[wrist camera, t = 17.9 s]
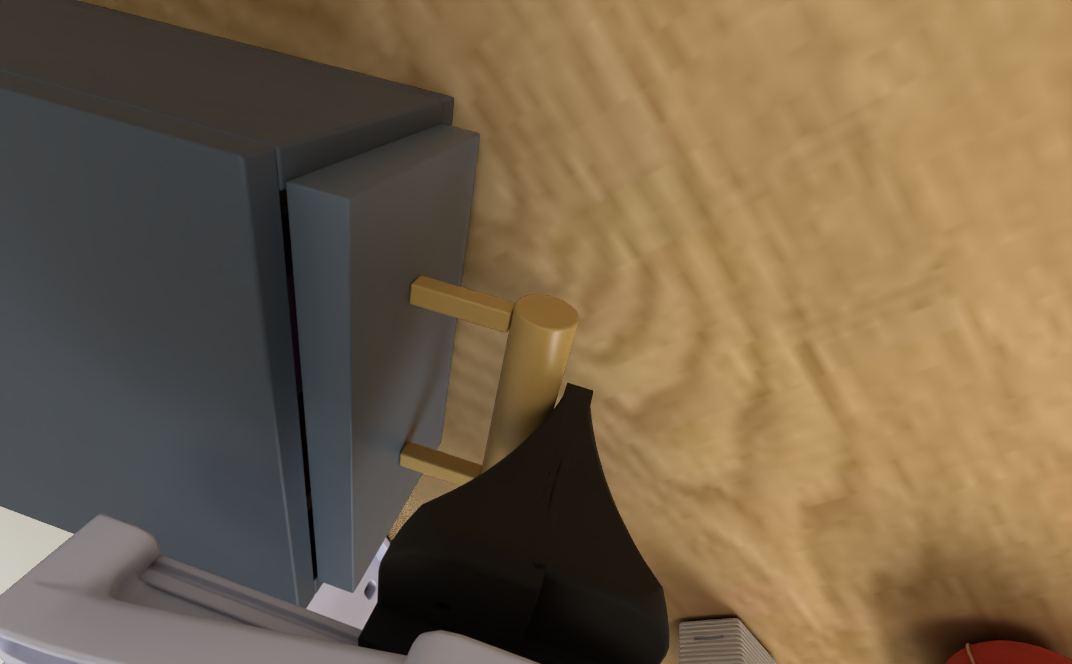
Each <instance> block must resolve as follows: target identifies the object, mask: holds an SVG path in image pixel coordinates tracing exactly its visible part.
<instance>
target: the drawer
mask: <svg viewBox="0 0 1072 664" xmlns="http://www.w3.org/2000/svg"><path fill="white" fill-rule="evenodd" d="M479 138H480V134H479V133H476V132H472V131H468V130H464V129H460V128H457V127H453V126H449V125H445V124H439V125H436V126H434V127H431V128H428V129H426V130H423V131H420V132H418V133H415V134H412V135H410V136H407V137H404V138H402V139H399V140H396V141H394V142H391V143H388V144H386V145H383V146H380V147H378V148H375V149H372V150H370V151H367V152H364V153H362V154H359V155H356V156H354V157H351V158H348V159H346V160H343V161H340V162H338V163H335V164H332V165H330V166H327V167H324V168H322V169H319V170H316V171H314V172H311V173H308V174H306V175H303V176H300V177H298V178H295V179H292V180H290V181H287V182H286V190H284V191H279V196H280V207H281V218H282V224H283V225H286V226H289V227H290V240H291V252H292V265H293V277H294V289H295V302H296V314H297V327H298V339H299V351H300V364H301V376H302V390H301V391H300V392H299V393H298V394H297V398H298V409H299V421H300V432H301V443H302V454H303V466H304V477H305V488H306V499H307V511H309V510H310V508H311V507H312V513H313V525H314V538H315V550H316V562H317V575H318V581H320V582H323V583H326V584H329V585H331V586H334V587H337V588H339V589H342V590H345V591H348V592H350V593H354V592H355V590H356V588H357V586H358V585H359V583H360V581H361V580H362V578H363V576H364V574H365V573H366V571H367V569H368V567H369V566H370V564H371V562H372V560H373V559H374V557H375V555H376V554H377V552H378V550H379V548H380V547H381V545H382V543H383V541H384V540H385V538H386V536H387V535H388V533H389V531H390V529H391V528H392V526H393V524H394V522H395V521H396V519H397V517H398V515H399V514H400V512H401V510H402V509H403V507H404V505H405V503H406V502H407V500H408V498H409V496H410V495H411V493H412V491H413V490H414V488H415V486H416V484H417V483H418V481H419V479H420V477H421V476H422V474H423V473H424V474H427V475H430V476H433V477H436V478H439V479H442V480H445V481H448V482H451V483H453V484H456V485H459V486H462V485H463V484H465V483H467V482H469V481H470V480H472V479H474V478H475V477H477V476H479V475H480V474H482V473H484V472H485V471H487V470H488V469H489V468H491V467H492V466H494V465H495V464H496V463H498V462H499V461H501V460H502V459H503V458H505V457H506V456H507V455H508V454H510V453H511V452H512V451H513V450H514V449H516V448H517V447H518V446H519V445H520V444H521V443H522V442H524V441H525V440H526V439H527V438H528V437H529V436H530V435H531V434H532V433H533V432H534V431H535V430H536V429H537V428H538V427H539V426H540V425H541V424H542V422H543V421H544V420H545V419H546V418H547V417H548V416H549V414H550V413H551V412H552V411H553V410H554V406H555V403H556V399H557V396H558V392H559V389H560V385H561V382H562V378H563V375H564V371H565V368H566V364H567V361H568V357H569V354H570V350H571V347H572V343H573V340H574V336H575V333H576V329H577V326H578V322H579V317H578V313H577V312H576V310H575V309H574V308H573V307H572V306H571V305H569V304H568V303H566V302H565V301H563V300H560V299H558V298H555V297H552V296H547V295H527V296H524V297H522V298H520V299H519V300H518V301H517V302H516V303H513V302H510V301H507V300H503V299H500V298H497V297H493V296H490V295H486V294H483V293H480V292H476V291H473V290H469V289H466V288H463V287H461V281H462V273H463V265H464V257H465V249H466V241H467V233H468V225H469V217H470V209H471V202H472V194H473V186H474V178H475V170H476V162H477V154H478V146H479ZM457 318H458V319H462V320H465V321H468V322H472V323H475V324H478V325H482V326H485V327H488V328H492V329H495V330H498V331H501V332H507V331H508V330H509V335H508V340H507V345H506V350H505V355H504V360H503V365H502V370H501V375H500V380H499V385H498V390H497V395H496V400H495V405H494V411H493V416H492V421H491V426H490V431H489V436H488V441H487V446H486V451H485V456H484V461H483V466H482V465H479V464H476V463H473V462H470V461H467V460H464V459H461V458H458V457H455V456H452V455H449V454H446V453H443V452H440V451H437V448H438V446H439V445H440V443H441V439H442V431H443V423H444V415H445V407H446V399H447V392H448V384H449V376H450V368H451V360H452V352H453V344H454V336H455V328H456V320H457ZM509 328H510V329H509Z"/></svg>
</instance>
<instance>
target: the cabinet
mask: <svg viewBox="0 0 1072 664" xmlns="http://www.w3.org/2000/svg"><path fill="white" fill-rule="evenodd" d="M453 103H454V98H453V97H451V96H447V95H443V94H439V93H435V92H432V91H428V90H424V89H420V88H416V87H412V86H408V85H404V84H400V83H396V82H393V81H389V80H385V79H381V78H377V77H373V76H369V75H365V74H361V73H357V72H353V71H350V70H346V69H342V68H338V67H334V66H330V65H326V64H322V63H318V62H314V61H311V60H307V59H303V58H299V57H295V56H291V55H287V54H283V53H279V52H275V51H272V50H268V49H264V48H260V47H256V46H252V45H248V44H244V43H240V42H236V41H233V40H229V39H225V38H221V37H217V36H213V35H209V34H205V33H201V32H197V31H194V30H190V29H186V28H182V27H178V26H174V25H170V24H166V23H162V22H158V21H155V20H151V19H147V18H143V17H139V16H135V15H131V14H127V13H123V12H119V11H116V10H112V9H108V8H104V7H100V6H96V5H92V4H88V3H84V2H80V1H77V0H0V506H2V507H4V508H7V509H10V510H13V511H15V512H18V513H20V514H23V515H26V516H28V517H31V518H34V519H36V520H39V521H41V522H44V523H47V524H49V525H52V526H55V527H57V528H60V529H63V530H66V531H68V532H71V533H74V534H75V533H76V532H78V531H79V530H80V529H81V528H82V527H84V526H85V525H86V524H87V523H89V522H90V521H91V520H92V519H93V518H95V517H96V516H97V515H98V514H107V515H110V516H113V517H115V518H118V519H121V520H123V521H126V522H129V523H132V524H134V525H137V526H140V527H142V528H144V529H146V530H148V531H149V532H150V533H151V534H153V535H154V536H155V538H156V539H157V541H158V543H159V548H160V554H162V555H164V556H167V557H170V558H172V559H175V560H177V561H180V562H183V563H185V564H188V565H191V566H193V567H196V568H199V569H201V570H204V571H207V572H209V573H212V574H215V575H217V576H220V577H223V578H225V579H228V580H231V581H233V582H236V583H239V584H241V585H244V586H247V587H249V588H252V589H254V590H257V591H260V592H262V593H265V594H268V595H270V596H273V597H276V598H278V599H281V600H284V601H286V602H289V603H292V604H294V605H297V606H300V607H302V608H305V609H306V608H307V607H308V605H309V604H310V602H311V601H312V599H313V597H314V596H315V594H316V593H317V592H318V590H319V589H320V587H321V586H322V584H323V582H320V581H318V575H317V562H316V550H315V538H314V525H313V513H312V507H311V508H310V510H309V511H307V499H306V488H305V477H304V466H303V454H302V443H301V432H300V421H299V409H298V398H297V387H296V376H295V364H294V353H293V342H292V331H291V319H290V308H289V297H288V286H287V274H286V263H285V252H284V241H283V229H282V218H281V207H280V196H279V191H284V190H286V182H287V181H290V180H292V179H295V178H298V177H300V176H303V175H306V174H308V173H311V172H314V171H316V170H319V169H322V168H324V167H327V166H330V165H332V164H335V163H338V162H340V161H343V160H346V159H348V158H351V157H354V156H356V155H359V154H362V153H364V152H367V151H370V150H372V149H375V148H378V147H380V146H383V145H386V144H388V143H391V142H394V141H396V140H399V139H402V138H404V137H407V136H410V135H412V134H415V133H418V132H420V131H423V130H426V129H428V128H431V127H434V126H436V125H439V124H445V125H449V126H451V124H452V113H453Z"/></svg>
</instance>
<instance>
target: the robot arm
mask: <svg viewBox="0 0 1072 664" xmlns="http://www.w3.org/2000/svg"><path fill="white" fill-rule="evenodd" d="M592 395H593V390H589V389H586V388H583V387H580V386H576V385H573V384H570V383H567V386H566V389H565V392H564V395H563V397H562V399H561V400H560V402H559V403H558V404H557V406H556V407H555V408H554V410H553V411H552V412H551V413H550V414H549V416H548V417H547V418H546V419H545V420H544V421H543V422H542V424H541V425H540V426H539V427H538V428H537V429H536V430H535V431H534V432H533V433H532V434H531V435H530V436H529V437H528V438H527V439H526V440H525V441H524V442H522V443H521V444H520V445H519V446H518V447H517V448H516V449H514V450H513V451H512V452H511V453H510V454H508V455H507V456H506V457H505V458H503V459H502V460H501V461H499V462H498V463H496V464H495V465H494V466H492V467H491V468H489V469H488V470H487V471H485V472H484V473H482V474H480V475H479V476H477V477H475V478H474V479H472V480H470V481H469V482H467V483H465V484H463V485H462V486H460V487H458V488H456V489H454V490H452V491H451V492H449V493H446V494H444V495H442V496H440V497H438V498H435V499H433V500H431V501H429V502H427V503H424V504H422V505H421V506H420V507H419V508H418V509H417V511H416V512H415V513H414V514H413V515H412V516H411V517H410V518H409V519H408V521H407V522H406V523H405V524H404V525H403V527H402V528H401V529H400V531H399V532H398V533H397V535H396V536H395V537H394V539H393V540H392V542H391V544H390V542H389V541H388V539H387V538H385V540H384V541H383V543H382V545H381V547H380V548H379V550H378V552H377V554H376V555H375V557H374V559H373V560H372V562H371V564H370V566H369V567H368V569H367V571H366V573H365V574H364V576H363V578H362V580H361V581H360V583H359V585H358V586H357V588H356V590H355V592H354V593H350V592H348V591H345V590H342V589H339V588H337V587H334V586H331V585H329V584H326V583H323V584H322V586H321V587H320V589H319V590H318V592H317V593H316V594H315V596H314V597H313V599H312V601H311V602H310V604H309V605H308V607H307V608H306V609H305V608H302V607H300V606H297V605H294V604H292V603H289V602H286V601H284V600H281V599H278V598H276V597H273V596H270V595H268V594H265V593H262V592H260V591H257V590H254V589H252V588H249V587H247V586H244V585H241V584H239V583H236V582H233V581H231V580H228V579H225V578H223V577H220V576H217V575H215V574H212V573H209V572H207V571H204V570H201V569H199V568H196V567H193V566H191V565H188V564H185V563H183V562H180V561H177V560H175V559H172V558H170V557H167V556H164V555H162V554H160V548H159V543H158V541H157V539H156V538H155V536H154V535H153V534H151V533H150V532H149V531H148V530H146V529H144V528H142V527H140V526H137V525H134V524H132V523H129V522H126V521H123V520H121V519H118V518H115V517H113V516H110V515H107V514H98V515H97V516H96V517H95V518H93V519H92V520H91V521H90V522H89V523H87V524H86V525H85V526H84V527H82V528H81V529H80V530H79V531H78V532H76V533H75V534H74V535H73V536H72V537H71V538H69V539H68V540H67V541H66V542H65V543H63V544H62V545H61V546H59V547H58V548H57V549H56V550H55V551H54V552H52V553H51V554H50V555H49V556H47V557H46V558H45V559H44V560H43V561H41V562H40V563H39V564H38V565H37V566H35V567H34V568H33V569H32V570H30V571H29V572H28V573H27V574H26V575H24V576H23V577H22V578H21V579H20V580H19V581H17V582H16V583H15V584H13V585H12V586H11V587H10V588H9V589H8V590H6V591H5V592H4V593H3V594H1V595H0V657H1V659H2V660H3V661H4V663H3V664H660V663H661V662H662V660H663V659H664V657H665V656H666V654H667V651H668V648H669V624H668V615H667V608H666V602H665V597H664V592H663V588H662V586H661V585H660V583H659V582H658V580H657V579H656V577H655V576H654V574H653V573H652V571H651V570H650V568H649V567H648V565H647V564H646V562H645V561H644V559H643V557H642V556H641V554H640V552H639V551H638V549H637V547H636V545H635V544H634V542H633V540H632V538H631V536H630V534H629V532H628V530H627V528H626V526H625V524H624V522H623V520H622V518H621V516H620V514H619V512H618V510H617V507H616V505H615V503H614V500H613V498H612V495H611V493H610V490H609V487H608V485H607V482H606V479H605V476H604V473H603V469H602V466H601V462H600V459H599V455H598V451H597V447H596V442H595V437H594V432H593V426H592V419H591V409H590V405H591V400H592Z"/></svg>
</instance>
